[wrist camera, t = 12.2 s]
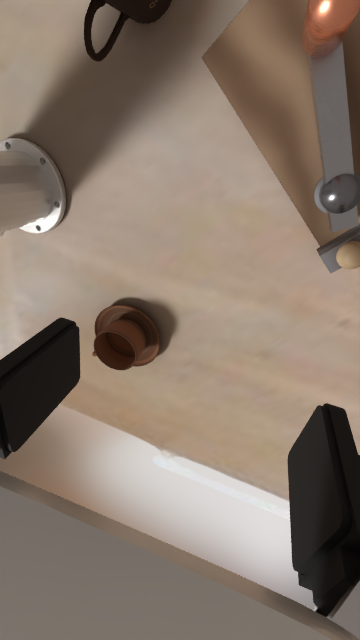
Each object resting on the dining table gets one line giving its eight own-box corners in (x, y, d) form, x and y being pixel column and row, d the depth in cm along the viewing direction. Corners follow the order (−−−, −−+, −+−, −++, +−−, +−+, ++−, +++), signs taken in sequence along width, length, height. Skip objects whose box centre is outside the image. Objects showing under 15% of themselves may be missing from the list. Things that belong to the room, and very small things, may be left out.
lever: (360, 220, 30) (387, 238, 23) (323, 230, 32) (337, 249, 25) (342, 0, 23) (371, -71, 16) (295, 25, 25) (304, -30, 18)
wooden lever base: (325, 262, 36) (336, 283, 29) (200, 66, 30) (182, 40, 24) (495, 167, 27) (559, 168, 21) (367, -129, 22) (403, -243, 16)
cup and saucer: (136, 370, 54) (121, 392, 49) (88, 326, 52) (68, 344, 47) (177, 337, 48) (165, 359, 42) (125, 286, 46) (105, 302, 41)
